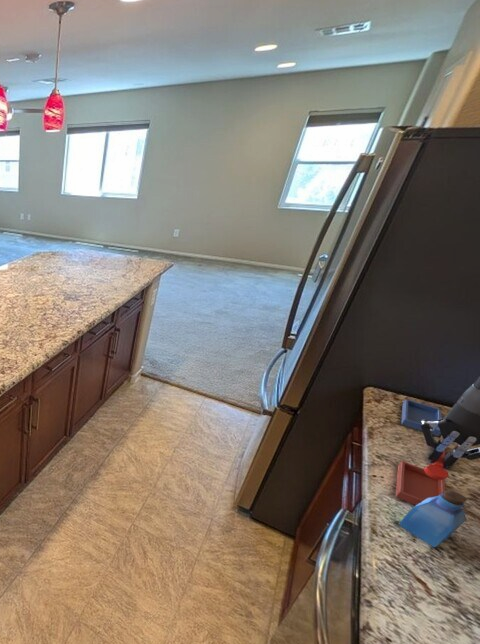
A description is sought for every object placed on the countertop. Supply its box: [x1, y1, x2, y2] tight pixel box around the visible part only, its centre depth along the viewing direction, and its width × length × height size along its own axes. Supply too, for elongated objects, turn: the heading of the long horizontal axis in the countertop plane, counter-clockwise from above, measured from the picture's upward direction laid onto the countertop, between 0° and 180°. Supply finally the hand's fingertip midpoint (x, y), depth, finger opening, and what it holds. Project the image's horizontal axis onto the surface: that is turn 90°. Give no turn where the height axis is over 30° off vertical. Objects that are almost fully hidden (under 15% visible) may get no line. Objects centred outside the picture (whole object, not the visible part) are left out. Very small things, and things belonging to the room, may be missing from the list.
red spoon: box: [423, 449, 450, 481], centre depth 94 cm, size 11×4×2 cm, turn 134°
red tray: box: [395, 460, 446, 506], centre depth 97 cm, size 14×8×2 cm, turn 134°
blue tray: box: [400, 398, 442, 437], centre depth 119 cm, size 14×8×2 cm, turn 134°
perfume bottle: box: [397, 489, 468, 548], centre depth 84 cm, size 6×6×12 cm
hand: (437, 462), depth 94 cm, fingers closed on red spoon, 1 cm apart
